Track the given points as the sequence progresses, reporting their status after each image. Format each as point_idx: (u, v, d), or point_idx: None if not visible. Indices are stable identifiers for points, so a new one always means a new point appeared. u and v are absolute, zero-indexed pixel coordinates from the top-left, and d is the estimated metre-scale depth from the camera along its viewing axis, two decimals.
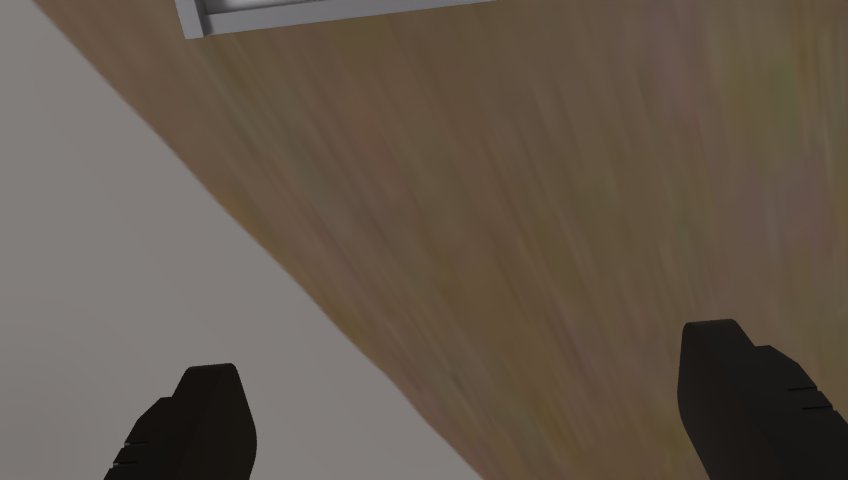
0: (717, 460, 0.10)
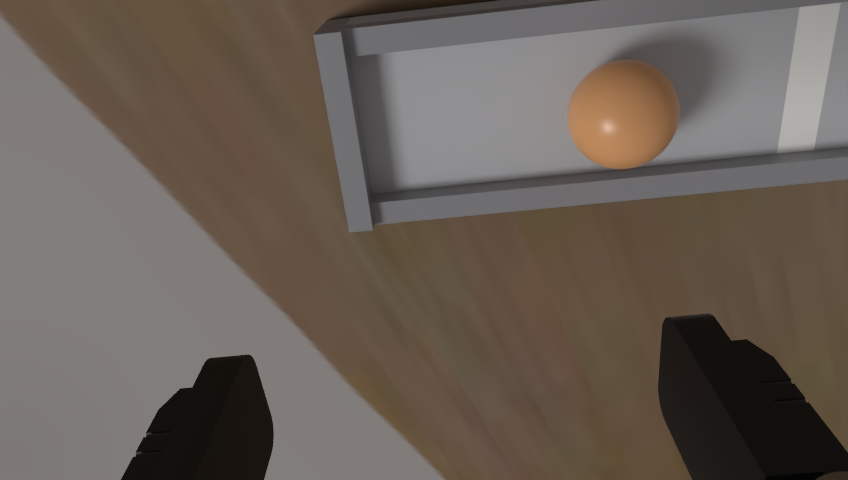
0: (694, 452, 0.10)
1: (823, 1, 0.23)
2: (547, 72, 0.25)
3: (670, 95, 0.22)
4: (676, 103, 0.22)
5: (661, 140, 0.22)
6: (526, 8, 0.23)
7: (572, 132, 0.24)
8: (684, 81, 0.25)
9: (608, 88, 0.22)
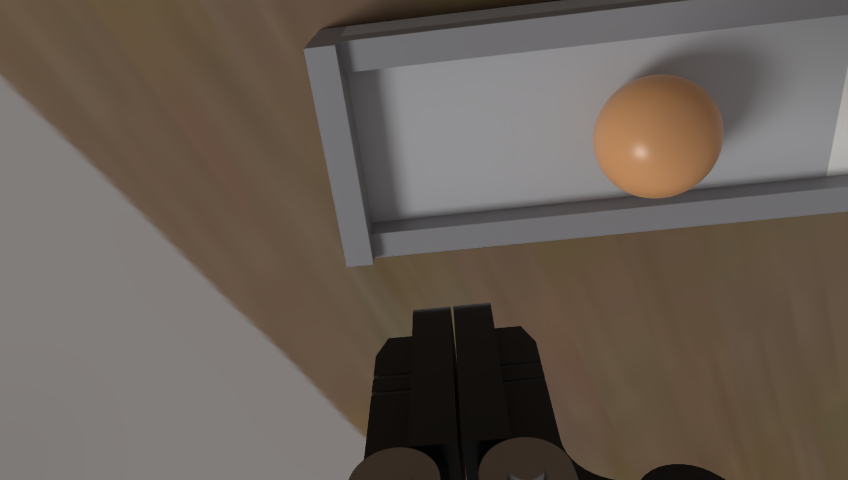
0: None
1: None
2: (569, 88, 0.22)
3: (714, 116, 0.19)
4: (720, 125, 0.19)
5: (703, 168, 0.19)
6: (547, 16, 0.20)
7: (599, 157, 0.21)
8: (724, 96, 0.22)
9: (643, 108, 0.19)
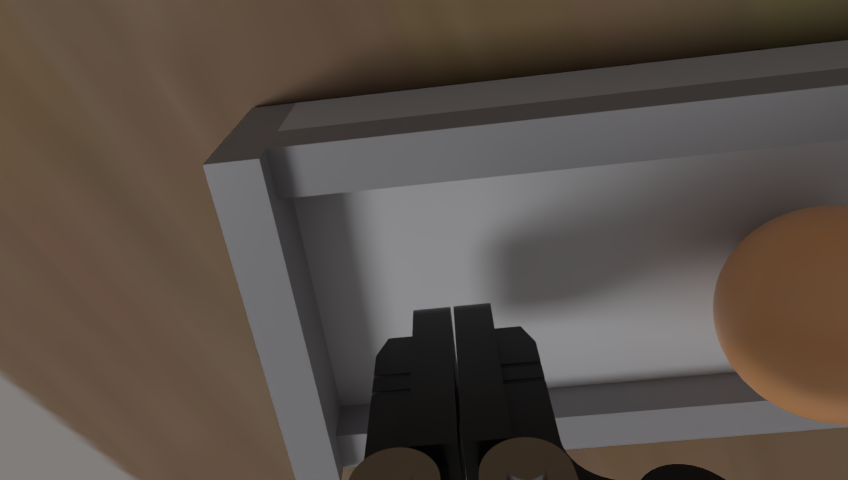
0: None
1: None
2: (667, 213, 0.13)
3: None
4: None
5: None
6: (644, 105, 0.11)
7: (732, 350, 0.12)
8: None
9: (834, 287, 0.10)
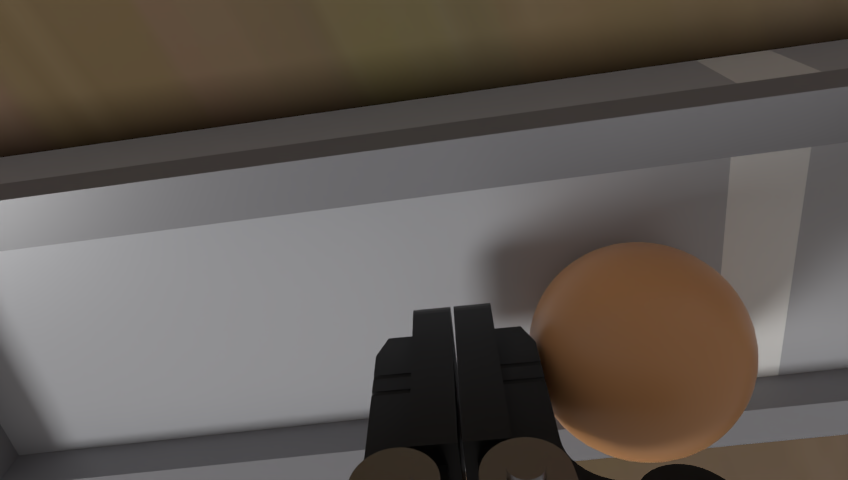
0: None
1: (774, 146, 0.11)
2: (269, 268, 0.13)
3: None
4: (752, 323, 0.11)
5: (746, 406, 0.11)
6: (176, 175, 0.11)
7: (564, 416, 0.11)
8: (527, 275, 0.13)
9: (648, 337, 0.10)
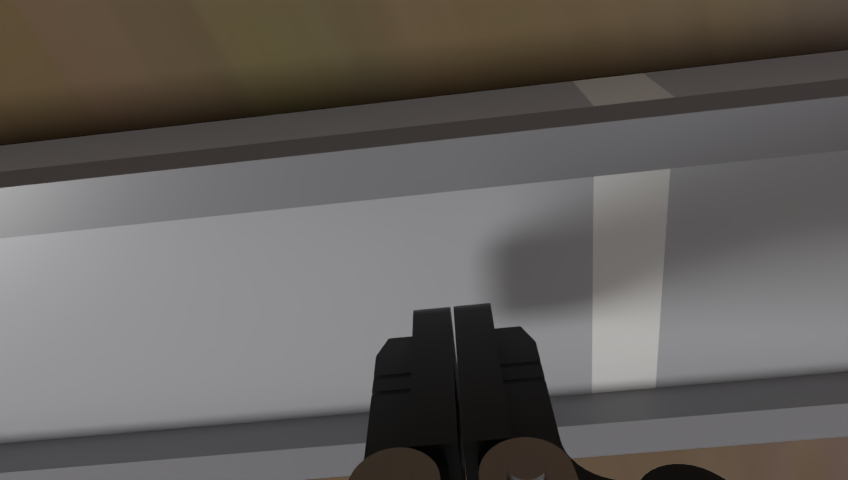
0: None
1: (622, 168, 0.11)
2: (153, 273, 0.14)
3: None
4: None
5: None
6: (45, 181, 0.12)
7: None
8: (404, 286, 0.14)
9: None
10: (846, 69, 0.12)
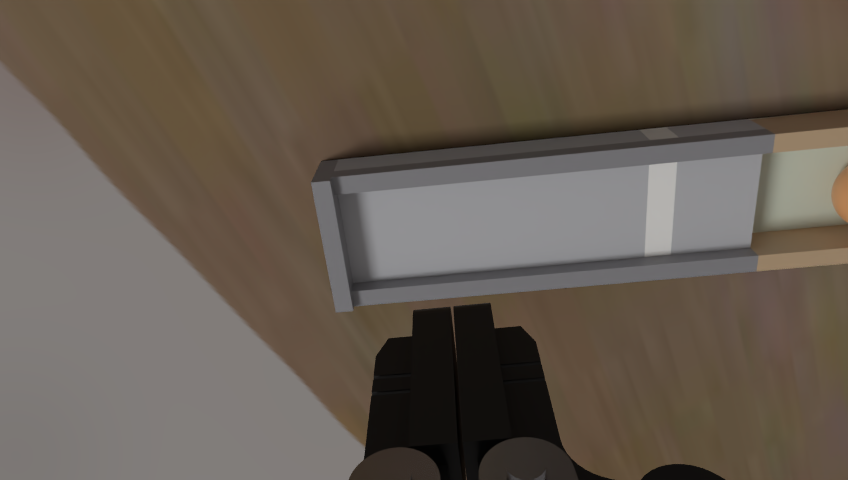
0: None
1: (660, 161, 0.33)
2: (476, 202, 0.35)
3: None
4: None
5: None
6: (457, 164, 0.33)
7: None
8: (573, 208, 0.35)
9: None
10: (740, 127, 0.34)
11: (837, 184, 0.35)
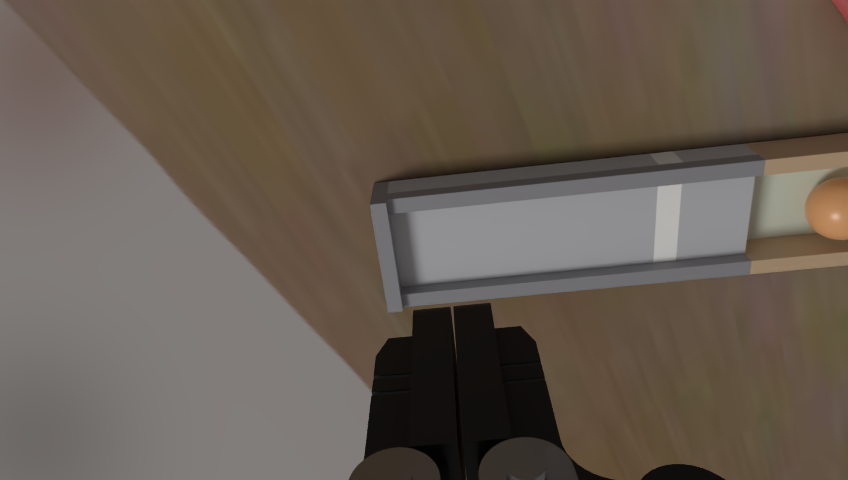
0: None
1: (668, 183, 0.39)
2: (509, 218, 0.41)
3: None
4: None
5: None
6: (494, 187, 0.39)
7: (823, 223, 0.40)
8: (592, 222, 0.41)
9: None
10: (736, 153, 0.40)
11: (808, 196, 0.41)
